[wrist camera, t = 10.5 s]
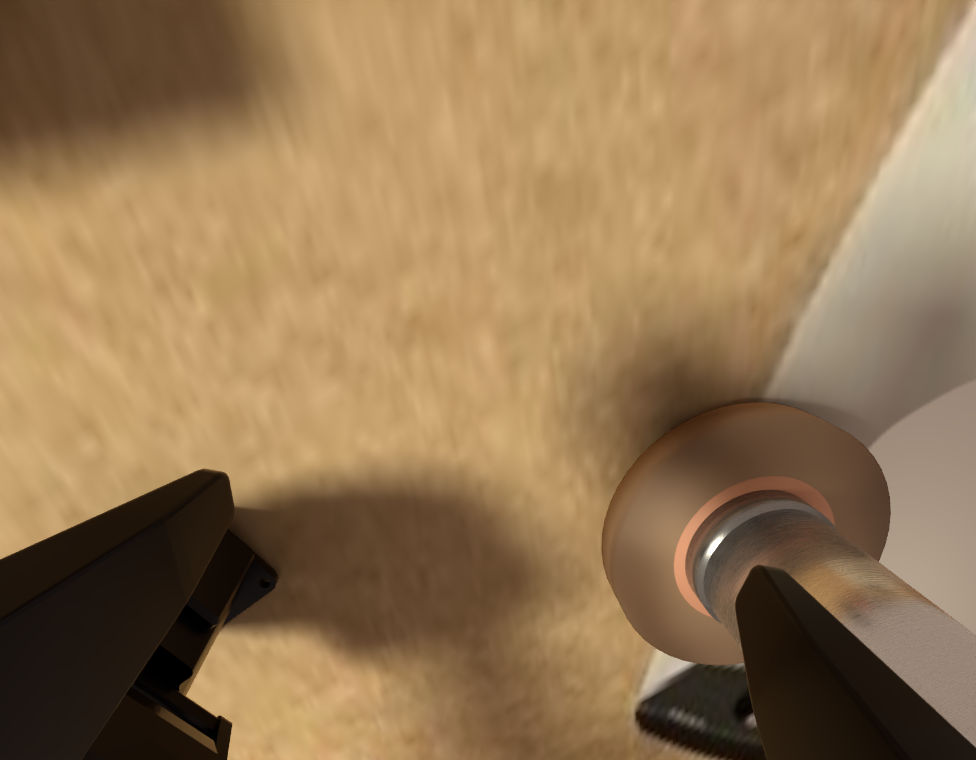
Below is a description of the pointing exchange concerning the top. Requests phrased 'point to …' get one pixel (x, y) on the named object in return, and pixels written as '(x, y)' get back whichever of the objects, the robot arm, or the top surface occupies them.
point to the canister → (836, 594)
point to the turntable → (709, 484)
